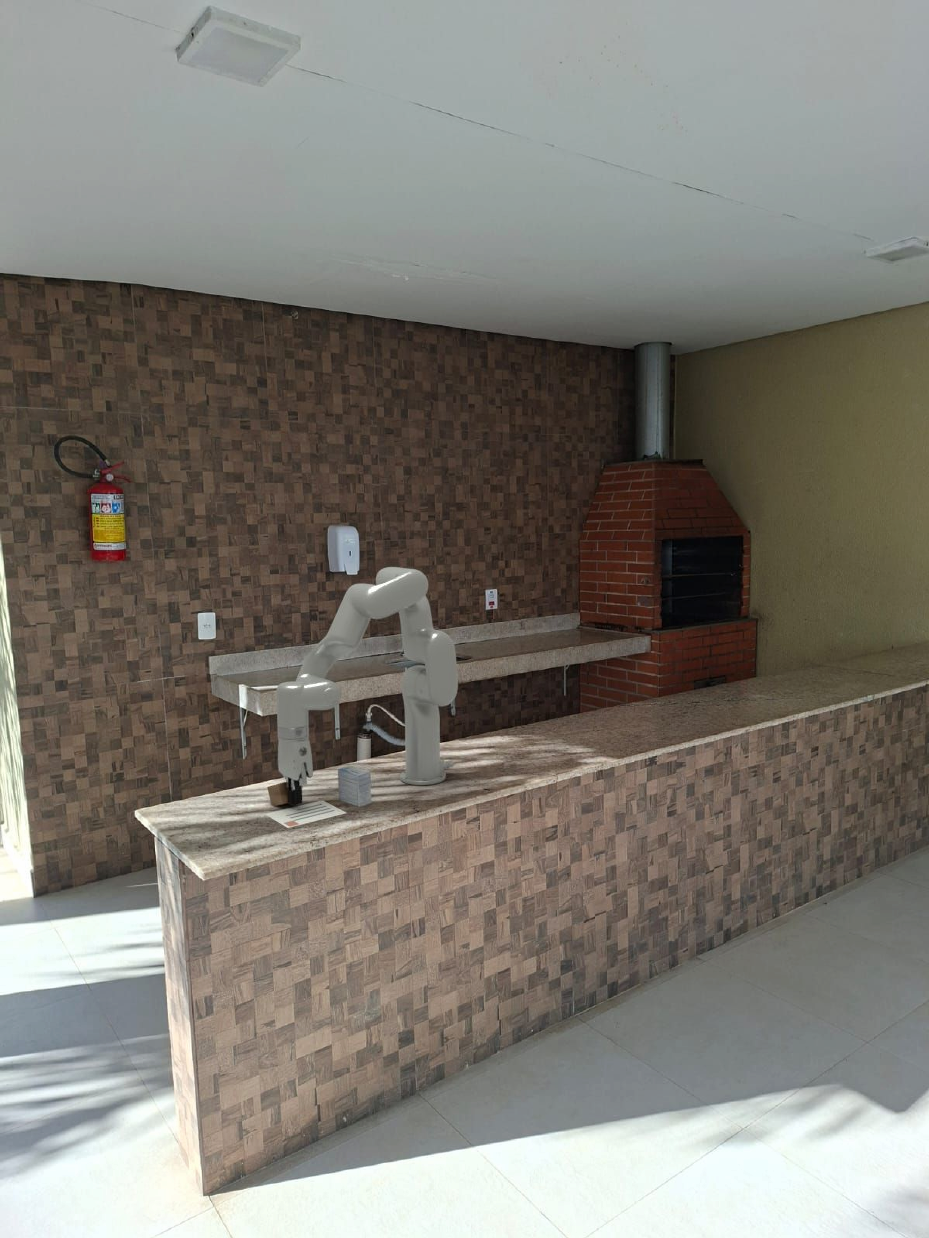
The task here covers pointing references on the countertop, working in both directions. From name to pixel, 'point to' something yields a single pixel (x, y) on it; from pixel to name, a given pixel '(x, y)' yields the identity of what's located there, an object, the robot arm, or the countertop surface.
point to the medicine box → (354, 786)
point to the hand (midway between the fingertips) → (295, 803)
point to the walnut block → (278, 794)
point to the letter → (305, 813)
